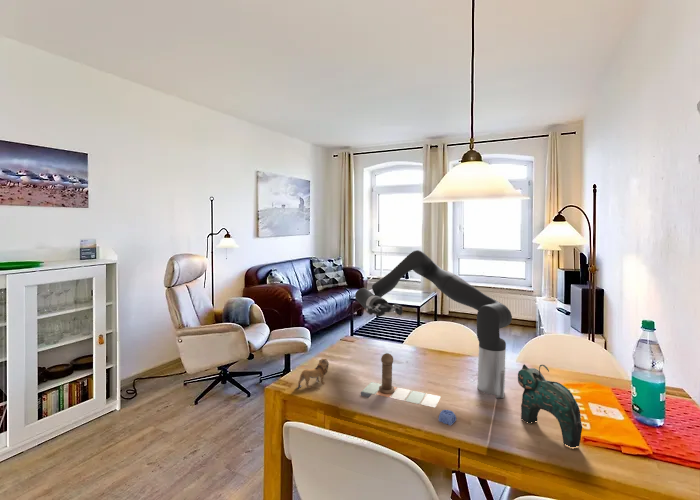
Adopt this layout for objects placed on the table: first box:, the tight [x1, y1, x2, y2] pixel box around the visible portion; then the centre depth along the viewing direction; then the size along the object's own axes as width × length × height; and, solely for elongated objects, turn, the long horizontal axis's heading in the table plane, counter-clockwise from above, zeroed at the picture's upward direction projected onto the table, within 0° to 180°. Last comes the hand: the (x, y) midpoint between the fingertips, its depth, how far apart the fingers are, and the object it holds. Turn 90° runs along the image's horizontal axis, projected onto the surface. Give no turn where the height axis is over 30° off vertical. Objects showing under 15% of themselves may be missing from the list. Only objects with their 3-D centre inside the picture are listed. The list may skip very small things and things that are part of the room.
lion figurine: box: [297, 357, 329, 390], centre depth 142 cm, size 15×5×9 cm, turn 135°
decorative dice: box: [438, 409, 457, 426], centre depth 114 cm, size 4×4×4 cm
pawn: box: [378, 352, 395, 395], centre depth 134 cm, size 6×6×14 cm
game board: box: [360, 381, 442, 409], centre depth 132 cm, size 27×10×1 cm, turn 64°
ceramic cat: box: [517, 364, 583, 447], centre depth 111 cm, size 20×6×20 cm, turn 21°
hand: (390, 313), depth 145 cm, fingers open, 8 cm apart
